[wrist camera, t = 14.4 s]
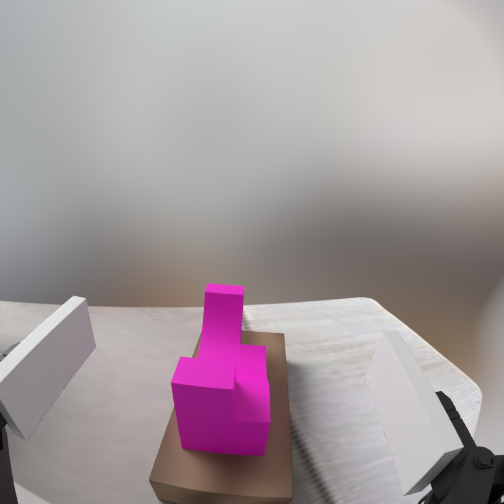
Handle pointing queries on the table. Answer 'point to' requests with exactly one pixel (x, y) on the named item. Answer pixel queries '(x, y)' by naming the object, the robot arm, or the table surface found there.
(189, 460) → the base brick
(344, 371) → the table surface
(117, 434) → the table surface
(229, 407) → the toy block
